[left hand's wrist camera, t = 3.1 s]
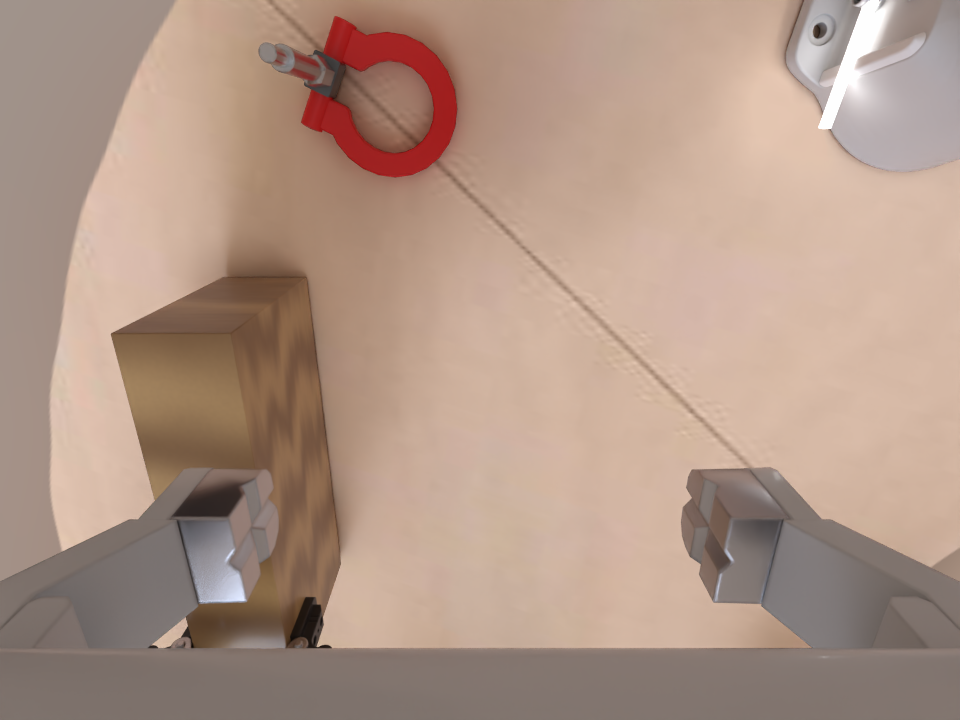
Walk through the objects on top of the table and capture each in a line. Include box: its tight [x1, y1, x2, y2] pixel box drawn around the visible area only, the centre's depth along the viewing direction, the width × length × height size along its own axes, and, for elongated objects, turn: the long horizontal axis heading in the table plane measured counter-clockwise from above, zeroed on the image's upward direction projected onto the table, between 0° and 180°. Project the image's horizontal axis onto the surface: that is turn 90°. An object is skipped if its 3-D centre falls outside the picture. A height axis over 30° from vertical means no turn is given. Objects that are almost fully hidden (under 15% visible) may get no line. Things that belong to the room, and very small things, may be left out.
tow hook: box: [259, 16, 457, 177], centre depth 30 cm, size 8×13×9 cm
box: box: [111, 277, 341, 648], centre depth 38 cm, size 26×6×13 cm, turn 0°
